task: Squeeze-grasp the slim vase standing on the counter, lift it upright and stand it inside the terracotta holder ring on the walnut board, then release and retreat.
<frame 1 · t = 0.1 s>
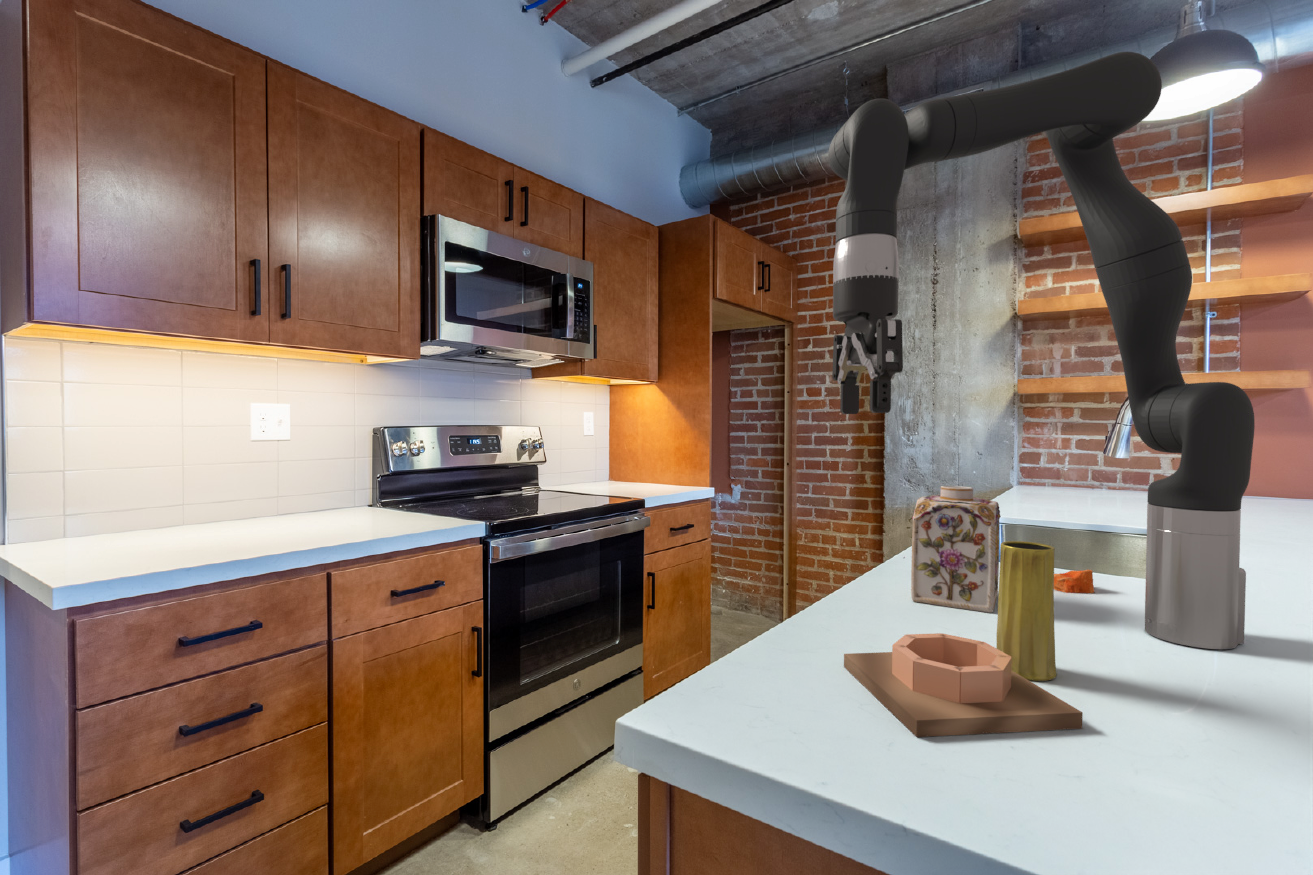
hand: (863, 413, 76), 29 cm above the countertop, fingers open, 8 cm apart
vase: (1024, 672, 70), on the countertop
holder ring: (950, 665, 64), on the board, point 3 cm above the countertop
board: (949, 694, 64), on the countertop
decorative jar: (955, 600, 99), on the countertop
rock: (1070, 594, 105), on the countertop
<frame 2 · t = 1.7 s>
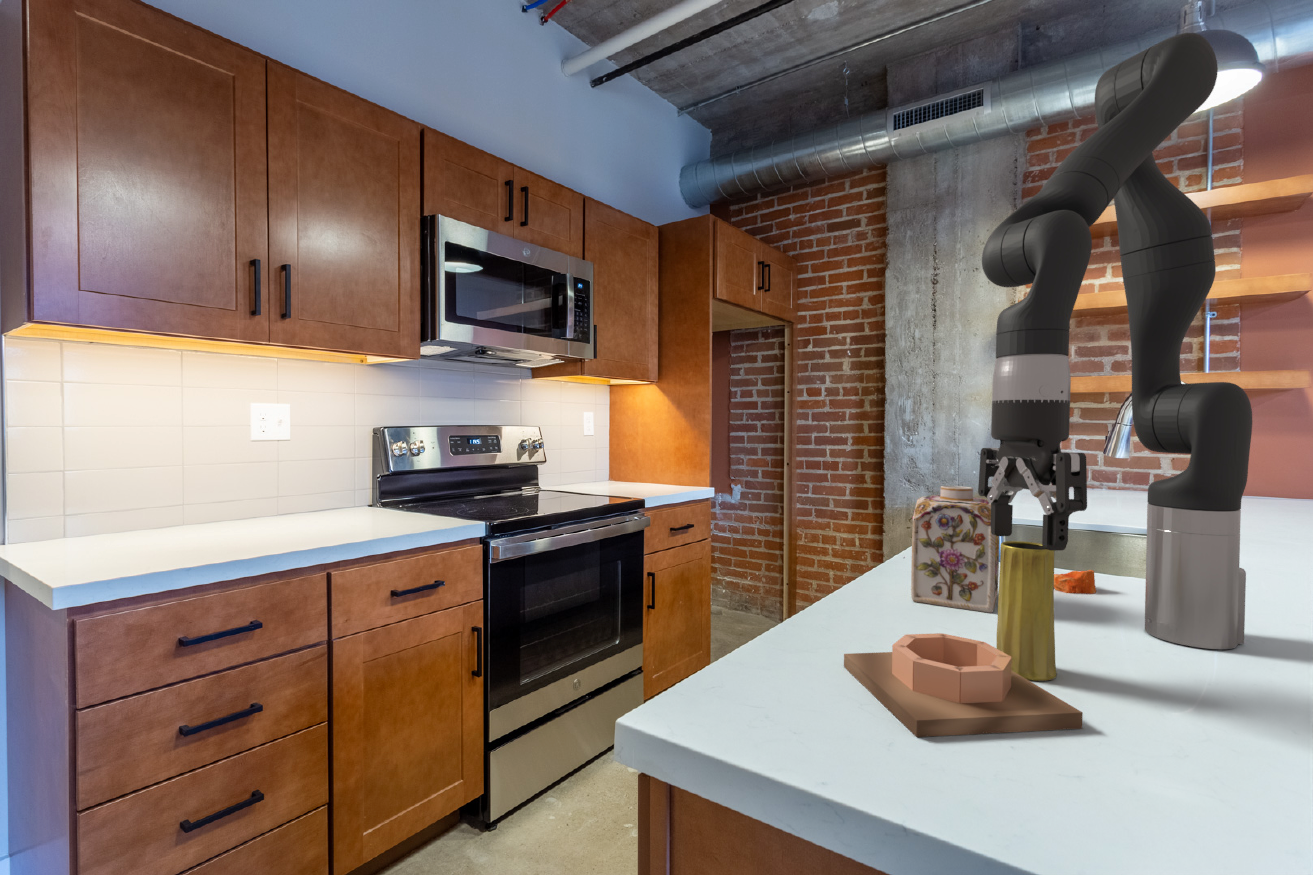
hand: (1025, 542, 70), 15 cm above the countertop, fingers open, 8 cm apart
nothing on the countertop moved.
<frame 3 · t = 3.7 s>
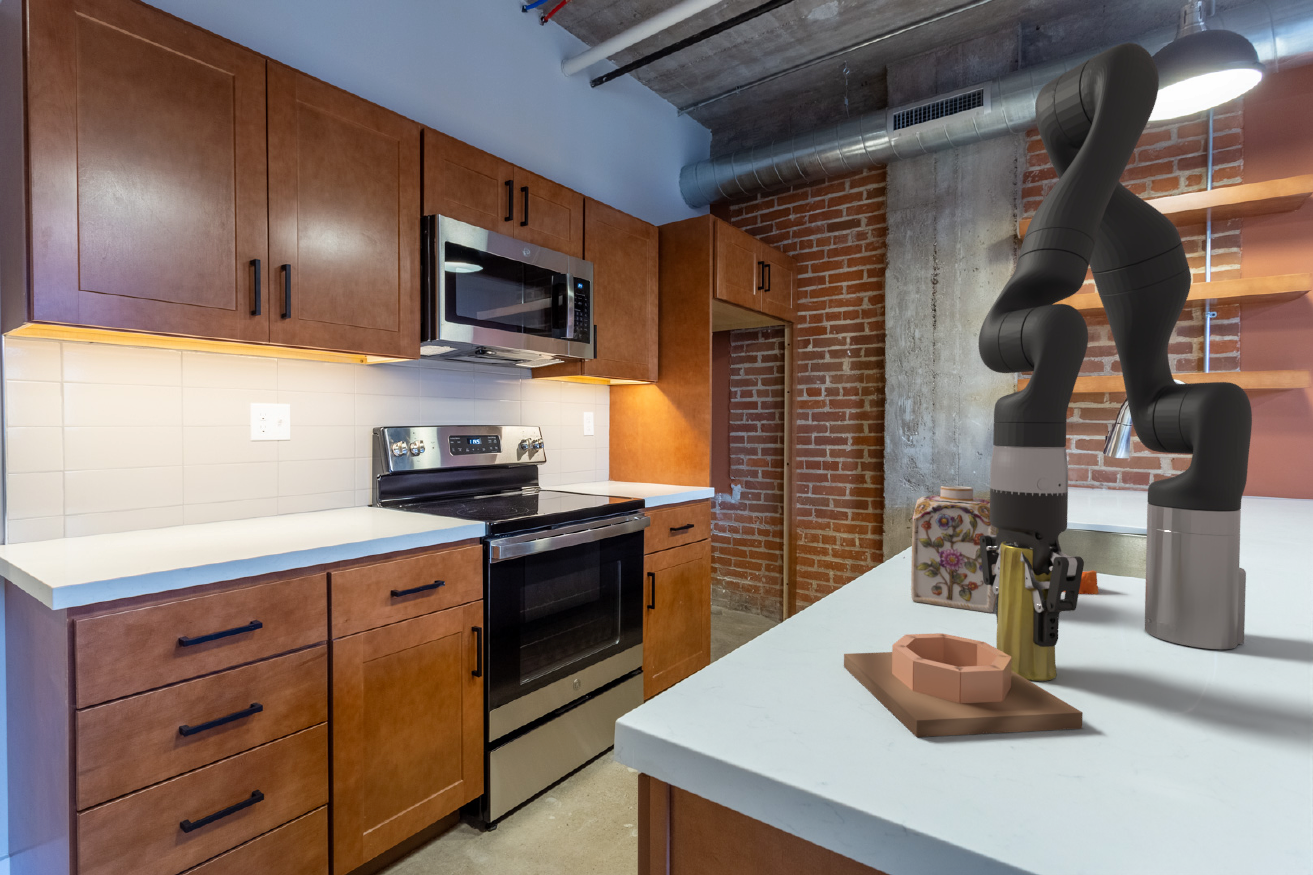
hand: (1025, 635, 70), 4 cm above the countertop, fingers closed on vase, 5 cm apart
vase: (1024, 672, 70), on the countertop, touching gripper
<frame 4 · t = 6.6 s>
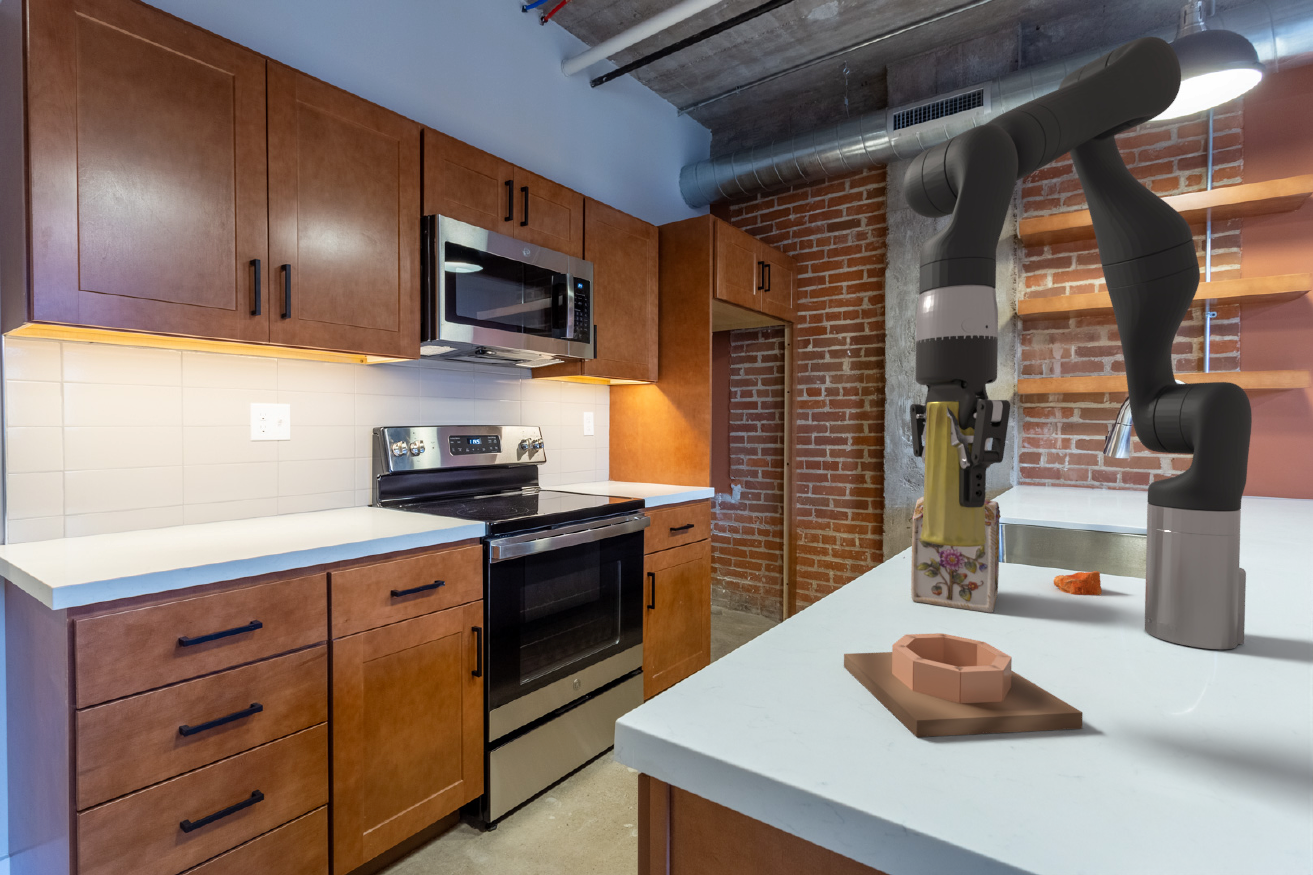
hand: (953, 502, 64), 20 cm above the countertop, fingers closed on vase, 5 cm apart
vase: (952, 543, 64), point 16 cm above the countertop, touching gripper
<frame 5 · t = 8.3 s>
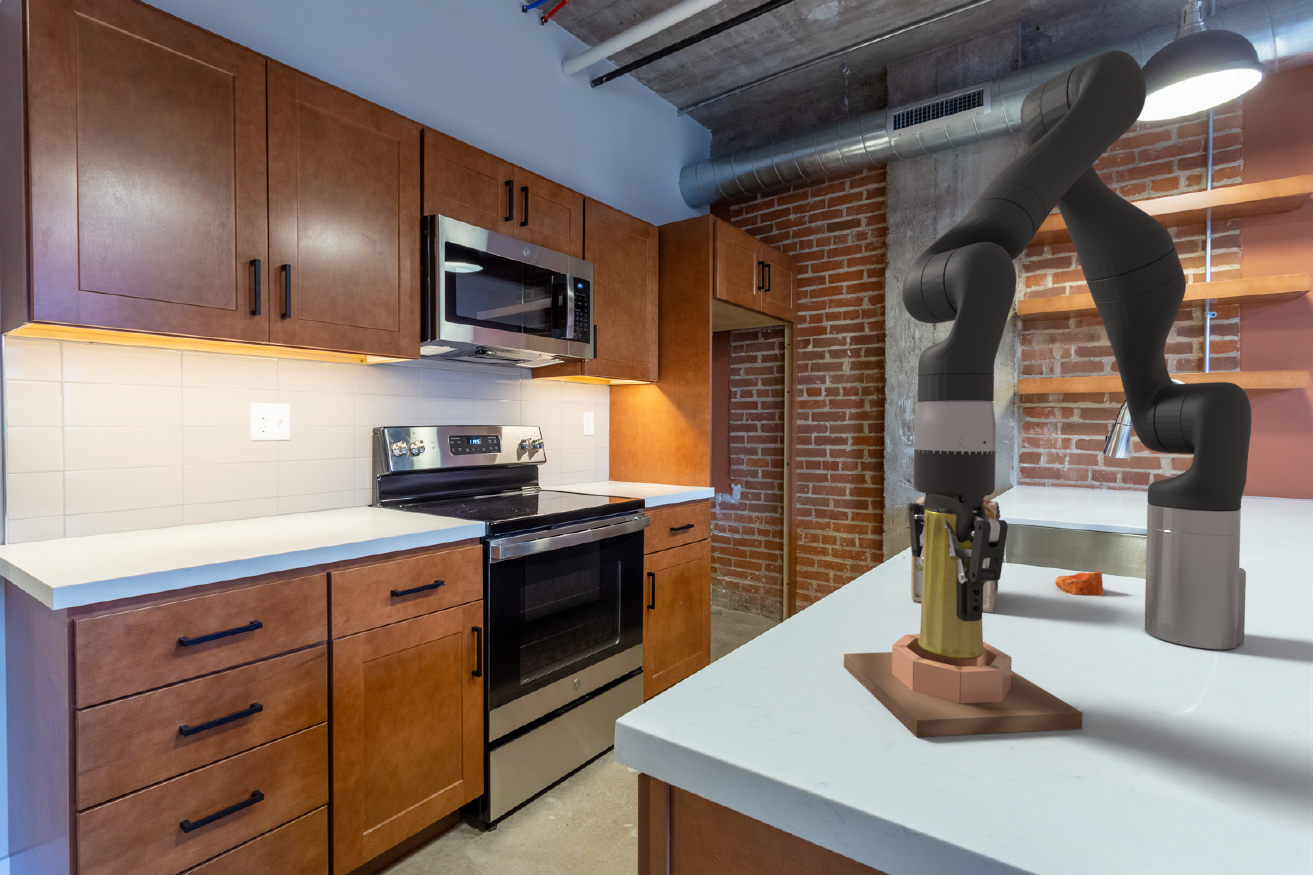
hand: (951, 609, 64), 9 cm above the countertop, fingers closed on vase, 5 cm apart
vase: (950, 650, 64), point 5 cm above the countertop, touching gripper
when the fingers open (7 cm above the countertop, at t = 9.7 s): vase drops 1 cm, resting on board.
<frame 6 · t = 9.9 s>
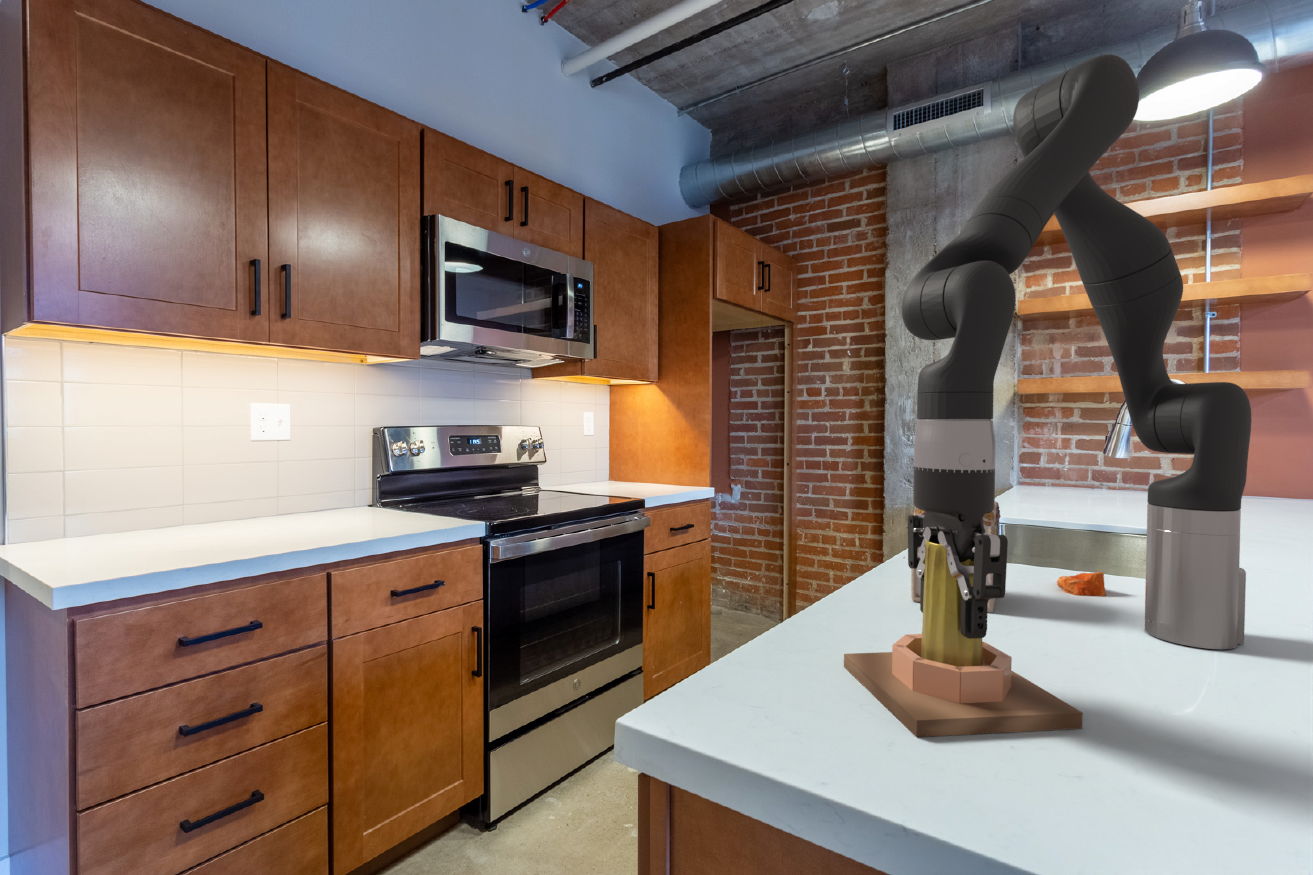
hand: (951, 624, 64), 7 cm above the countertop, fingers open, 7 cm apart
vase: (950, 681, 64), point 1 cm above the countertop, touching board
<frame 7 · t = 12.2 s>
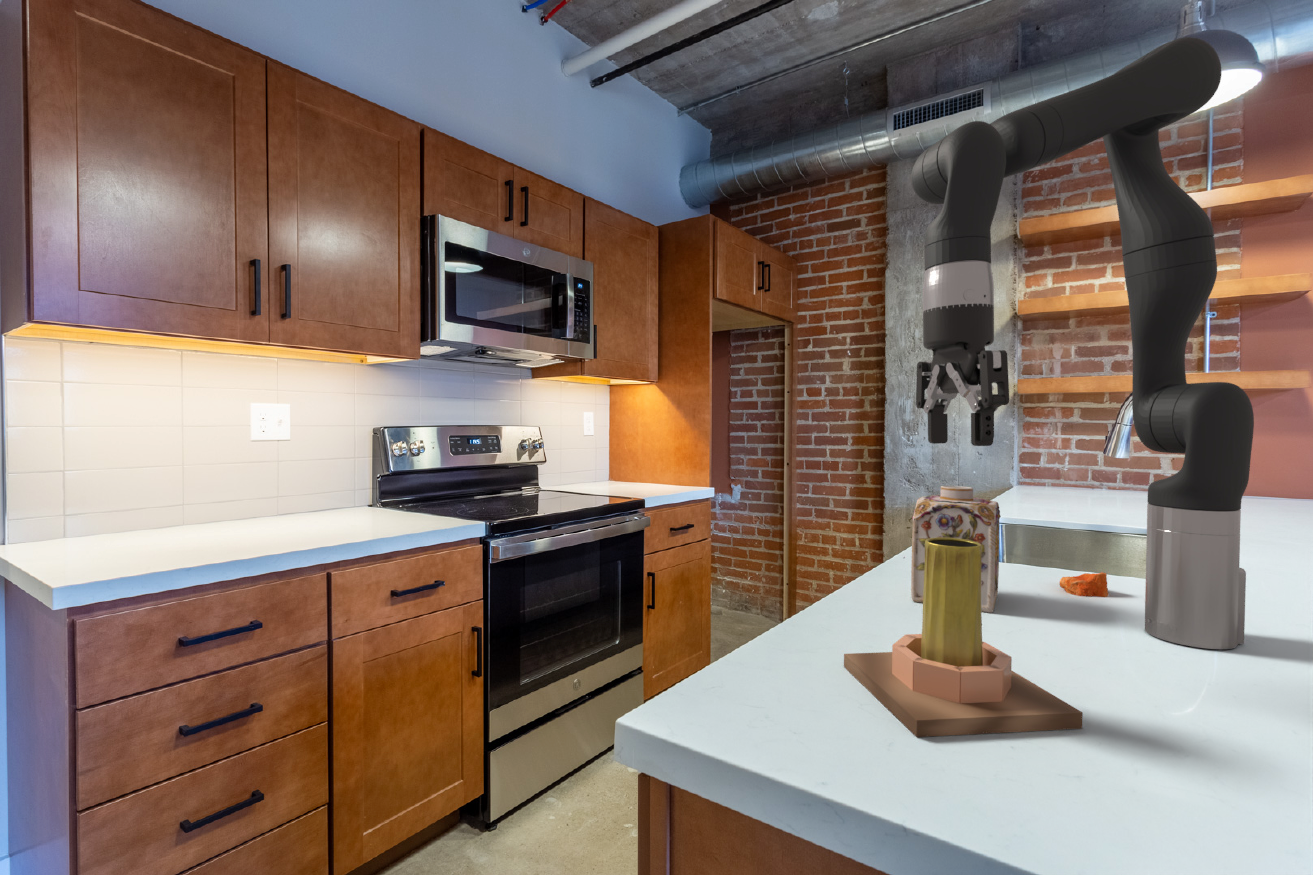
hand: (958, 444, 74), 25 cm above the countertop, fingers open, 8 cm apart
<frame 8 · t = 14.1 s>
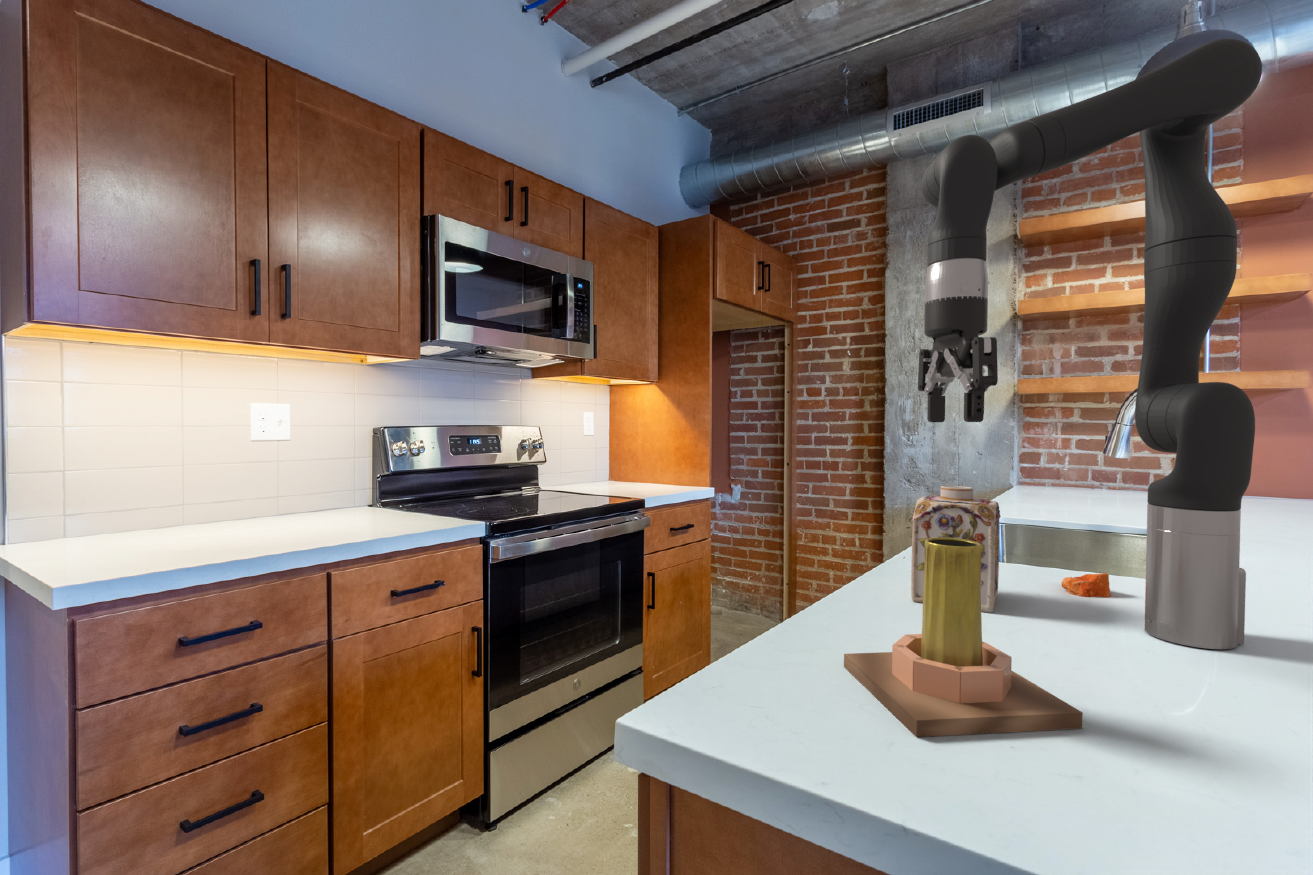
hand: (953, 422, 83), 28 cm above the countertop, fingers open, 8 cm apart
at the end: vase 0.1 cm from the holder ring (horizontally); vase tilted 0°; vase point 1.3 cm above the countertop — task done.
